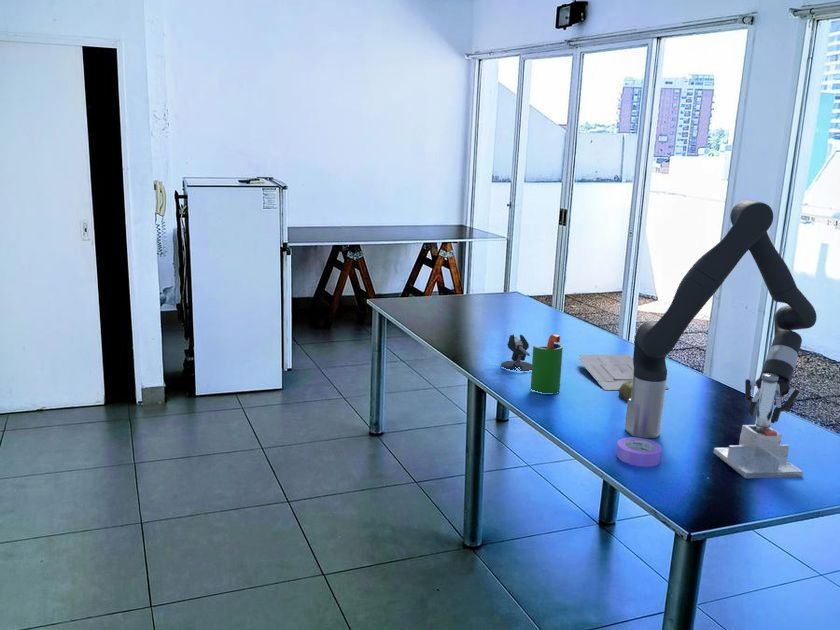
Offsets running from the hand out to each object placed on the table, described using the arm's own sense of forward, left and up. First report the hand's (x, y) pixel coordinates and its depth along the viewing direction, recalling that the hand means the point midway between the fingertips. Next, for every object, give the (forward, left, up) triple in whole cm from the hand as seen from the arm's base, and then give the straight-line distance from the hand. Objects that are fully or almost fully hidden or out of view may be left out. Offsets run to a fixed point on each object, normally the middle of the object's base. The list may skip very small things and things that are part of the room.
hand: (762, 418), depth 199 cm
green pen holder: (-39, +62, -14) cm, 75 cm away
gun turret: (-42, +84, -14) cm, 95 cm away
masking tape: (-30, +7, -14) cm, 34 cm away
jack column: (+1, +1, -12) cm, 12 cm away
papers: (-7, +77, -14) cm, 78 cm away
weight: (-9, +54, -14) cm, 57 cm away
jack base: (+1, +1, -14) cm, 14 cm away
